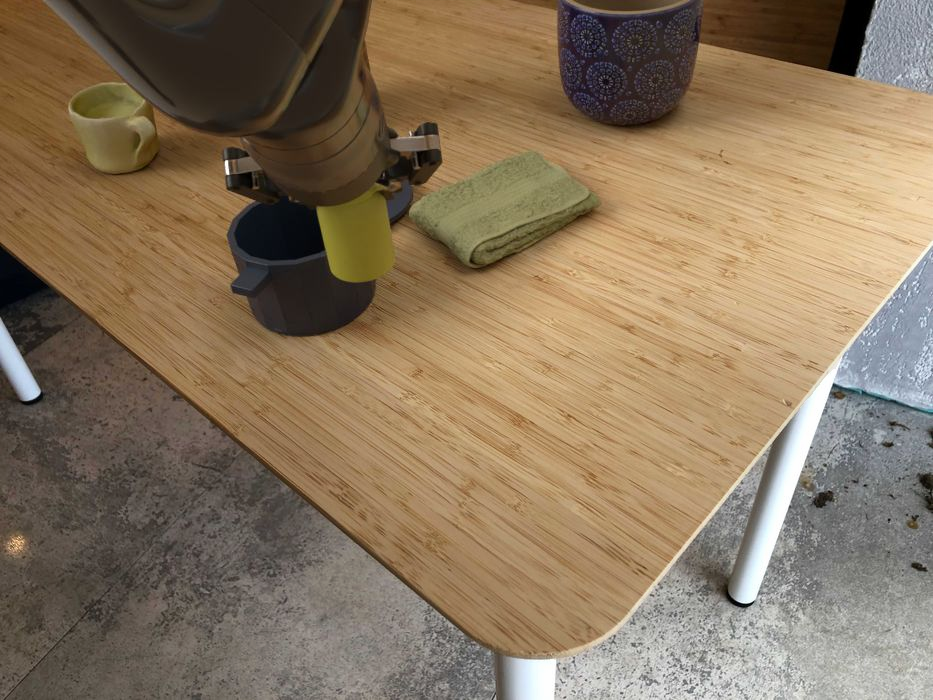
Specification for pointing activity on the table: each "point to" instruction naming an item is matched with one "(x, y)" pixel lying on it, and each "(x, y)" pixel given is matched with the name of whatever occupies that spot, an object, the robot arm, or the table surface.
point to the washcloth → (503, 208)
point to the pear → (358, 238)
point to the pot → (291, 271)
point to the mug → (114, 127)
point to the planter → (627, 56)
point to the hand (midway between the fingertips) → (350, 190)
